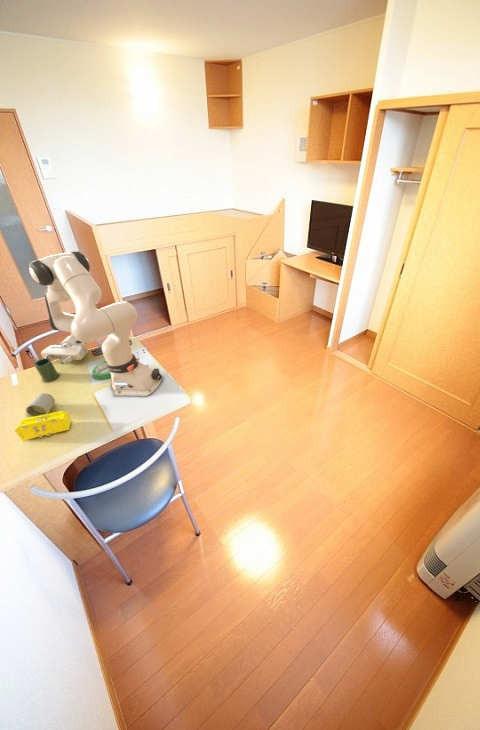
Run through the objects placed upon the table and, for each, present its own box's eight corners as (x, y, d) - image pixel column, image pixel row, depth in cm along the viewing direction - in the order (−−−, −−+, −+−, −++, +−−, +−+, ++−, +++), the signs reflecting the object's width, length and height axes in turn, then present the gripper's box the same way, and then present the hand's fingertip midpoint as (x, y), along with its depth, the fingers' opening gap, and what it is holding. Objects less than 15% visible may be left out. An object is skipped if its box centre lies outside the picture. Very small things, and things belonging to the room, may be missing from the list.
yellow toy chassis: (23, 442, 112) (11, 428, 107) (27, 431, 116) (16, 417, 111) (70, 431, 116) (61, 417, 111) (72, 421, 121) (64, 407, 116)
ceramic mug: (59, 403, 128) (51, 390, 124) (50, 417, 122) (41, 404, 117) (33, 405, 128) (24, 392, 123) (23, 420, 121) (13, 407, 116)
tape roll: (94, 368, 148) (92, 364, 146) (117, 362, 152) (116, 358, 150) (94, 382, 140) (92, 377, 138) (118, 375, 143) (117, 371, 142)
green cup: (61, 374, 144) (53, 359, 138) (51, 382, 139) (42, 367, 133) (50, 372, 145) (42, 357, 139) (40, 380, 140) (30, 365, 135)
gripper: (49, 340, 153) (30, 356, 142) (87, 342, 152) (70, 358, 141) (54, 350, 157) (36, 366, 146) (91, 352, 155) (75, 368, 144)
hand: (53, 362), depth 143 cm, fingers open, 8 cm apart
